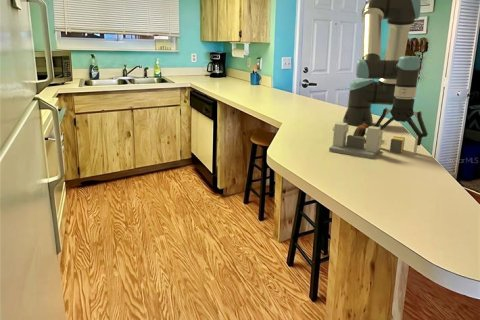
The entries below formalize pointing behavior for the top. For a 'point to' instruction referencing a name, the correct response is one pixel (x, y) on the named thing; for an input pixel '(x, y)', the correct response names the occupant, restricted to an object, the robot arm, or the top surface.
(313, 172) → the top surface
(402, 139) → the box
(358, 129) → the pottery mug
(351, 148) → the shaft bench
